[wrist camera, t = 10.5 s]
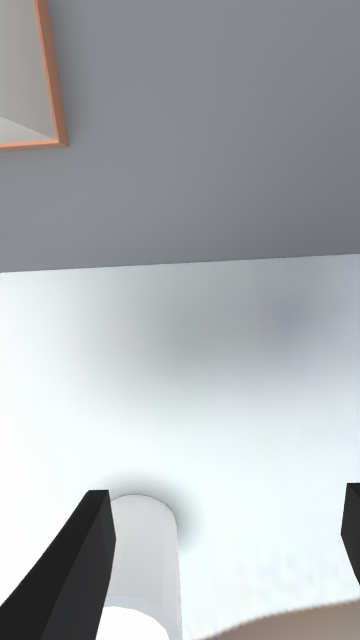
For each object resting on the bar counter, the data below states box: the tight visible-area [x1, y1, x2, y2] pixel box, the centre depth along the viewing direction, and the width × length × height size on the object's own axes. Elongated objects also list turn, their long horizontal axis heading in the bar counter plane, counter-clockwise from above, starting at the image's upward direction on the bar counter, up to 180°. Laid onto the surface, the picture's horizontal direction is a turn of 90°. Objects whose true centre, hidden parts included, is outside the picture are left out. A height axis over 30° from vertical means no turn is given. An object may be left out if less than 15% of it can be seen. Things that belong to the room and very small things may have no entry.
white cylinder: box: [96, 494, 182, 640], centre depth 22 cm, size 7×7×7 cm
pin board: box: [0, 0, 360, 273], centre depth 15 cm, size 22×16×2 cm
